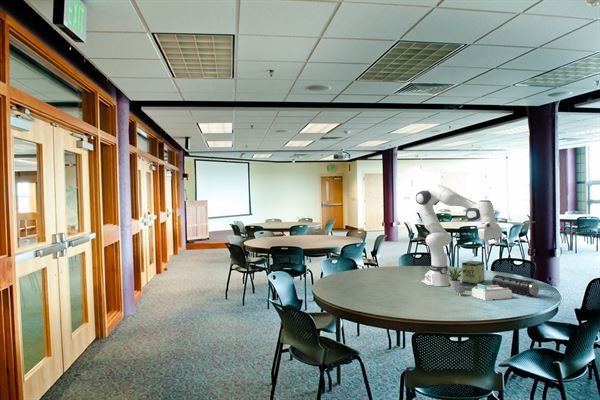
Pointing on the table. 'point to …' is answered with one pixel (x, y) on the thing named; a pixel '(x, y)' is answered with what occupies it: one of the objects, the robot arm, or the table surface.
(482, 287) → the shutter
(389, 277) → the table surface
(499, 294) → the socket box
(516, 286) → the muzzle brake
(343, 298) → the table surface
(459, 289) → the plug
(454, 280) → the house plant
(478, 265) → the protein box
